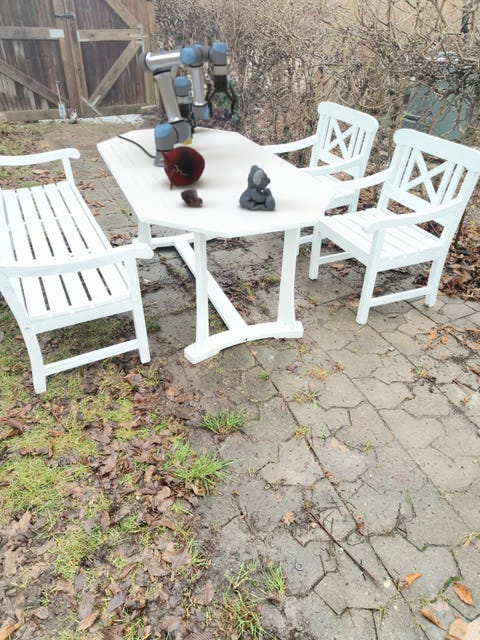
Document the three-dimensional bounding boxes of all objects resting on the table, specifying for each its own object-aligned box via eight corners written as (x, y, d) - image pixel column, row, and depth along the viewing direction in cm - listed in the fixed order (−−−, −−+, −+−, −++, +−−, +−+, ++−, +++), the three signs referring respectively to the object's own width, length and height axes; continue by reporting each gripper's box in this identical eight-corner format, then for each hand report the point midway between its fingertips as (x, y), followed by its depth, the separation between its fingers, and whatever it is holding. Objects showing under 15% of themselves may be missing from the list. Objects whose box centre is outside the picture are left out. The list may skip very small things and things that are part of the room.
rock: (196, 202, 238) (178, 205, 233) (194, 185, 234) (176, 188, 230) (205, 205, 228) (187, 208, 224) (203, 188, 224) (185, 191, 220)
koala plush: (276, 211, 223) (277, 171, 212) (240, 212, 222) (240, 172, 211) (271, 199, 237) (272, 161, 226) (237, 200, 236) (237, 162, 225)
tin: (182, 145, 314) (181, 128, 308) (178, 142, 320) (177, 126, 314) (193, 143, 317) (192, 127, 311) (189, 141, 323) (188, 125, 317)
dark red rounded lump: (162, 151, 264) (156, 150, 240) (201, 143, 263) (199, 140, 240) (172, 188, 271) (167, 190, 247) (209, 180, 270) (208, 181, 246)
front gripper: (243, 74, 255) (243, 114, 267) (202, 73, 262) (204, 112, 274) (239, 75, 249) (239, 116, 261) (197, 74, 256) (199, 114, 268)
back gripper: (167, 104, 300) (170, 140, 313) (199, 103, 301) (201, 139, 314) (167, 102, 306) (170, 137, 319) (198, 101, 308) (200, 136, 321)
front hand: (221, 114), depth 268 cm, fingers open, 13 cm apart
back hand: (185, 138), depth 317 cm, fingers closed on tin, 8 cm apart
